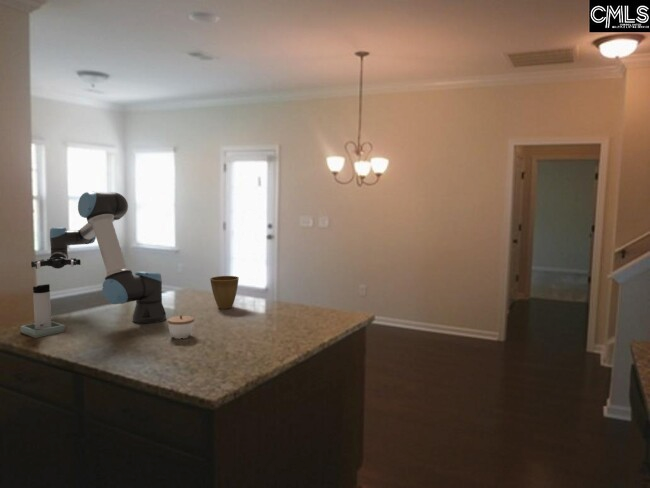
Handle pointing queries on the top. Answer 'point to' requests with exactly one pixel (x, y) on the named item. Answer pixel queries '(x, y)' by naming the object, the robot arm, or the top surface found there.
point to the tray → (32, 332)
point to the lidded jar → (180, 326)
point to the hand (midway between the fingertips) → (55, 265)
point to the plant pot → (224, 290)
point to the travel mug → (42, 306)
